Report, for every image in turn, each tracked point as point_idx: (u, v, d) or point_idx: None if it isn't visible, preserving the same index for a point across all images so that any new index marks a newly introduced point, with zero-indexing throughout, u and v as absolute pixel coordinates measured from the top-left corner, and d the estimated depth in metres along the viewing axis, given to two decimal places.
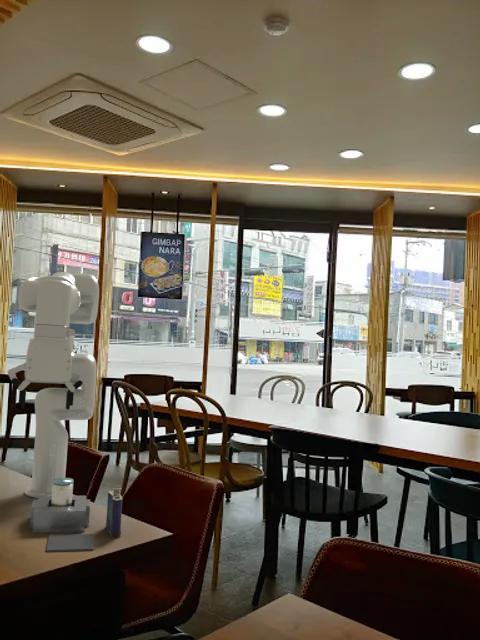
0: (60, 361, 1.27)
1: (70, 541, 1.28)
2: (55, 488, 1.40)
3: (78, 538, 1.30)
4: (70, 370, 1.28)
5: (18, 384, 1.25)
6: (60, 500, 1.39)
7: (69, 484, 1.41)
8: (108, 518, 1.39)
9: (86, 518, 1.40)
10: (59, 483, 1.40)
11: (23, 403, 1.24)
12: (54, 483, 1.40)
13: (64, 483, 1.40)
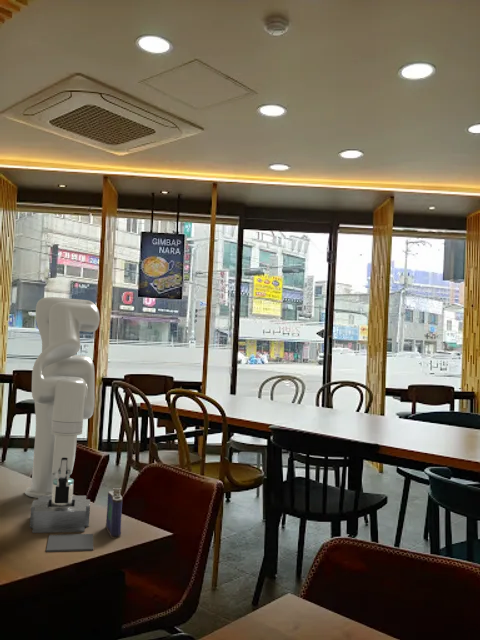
0: None
1: (70, 541, 1.28)
2: (55, 488, 1.40)
3: (78, 538, 1.30)
4: None
5: (65, 484, 1.38)
6: None
7: (69, 484, 1.41)
8: (108, 518, 1.39)
9: (86, 518, 1.40)
10: None
11: None
12: (54, 483, 1.40)
13: None
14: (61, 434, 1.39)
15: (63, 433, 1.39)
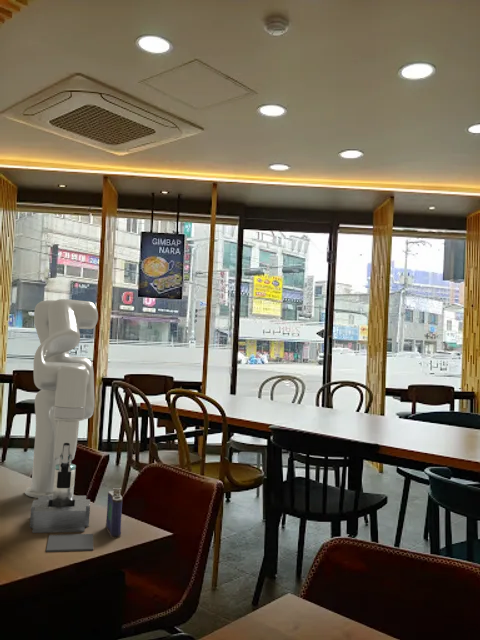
0: None
1: (70, 541, 1.28)
2: (57, 473, 1.41)
3: (78, 538, 1.30)
4: None
5: (67, 469, 1.39)
6: None
7: (71, 469, 1.41)
8: (108, 518, 1.39)
9: (86, 518, 1.40)
10: None
11: None
12: (56, 468, 1.41)
13: None
14: (63, 420, 1.40)
15: (65, 419, 1.40)
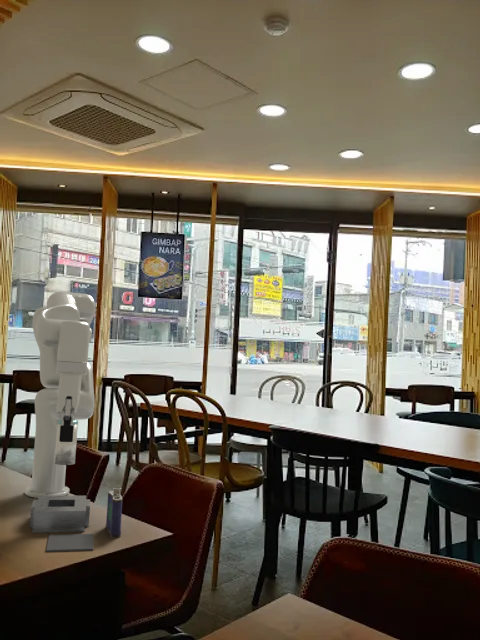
0: None
1: (70, 541, 1.28)
2: None
3: (78, 538, 1.30)
4: None
5: (70, 422, 1.39)
6: None
7: (74, 424, 1.42)
8: (108, 518, 1.39)
9: (86, 518, 1.40)
10: None
11: None
12: (59, 422, 1.41)
13: None
14: (66, 373, 1.40)
15: (68, 372, 1.40)
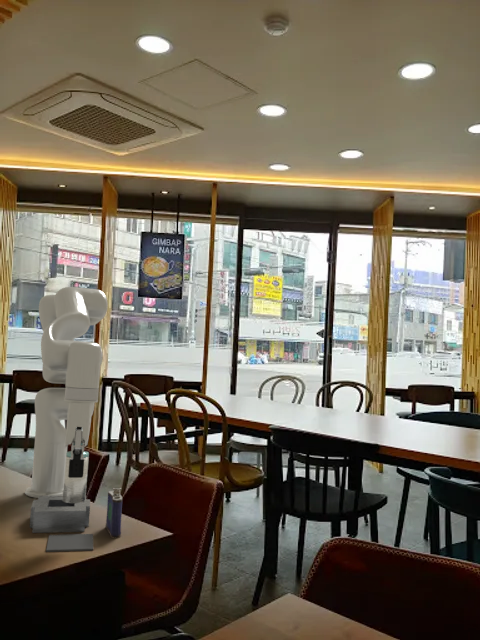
0: None
1: (70, 541, 1.28)
2: None
3: (78, 538, 1.30)
4: None
5: (80, 456, 1.25)
6: None
7: (84, 457, 1.28)
8: (108, 518, 1.39)
9: (86, 518, 1.40)
10: None
11: None
12: (68, 455, 1.27)
13: None
14: (75, 401, 1.26)
15: (77, 400, 1.26)
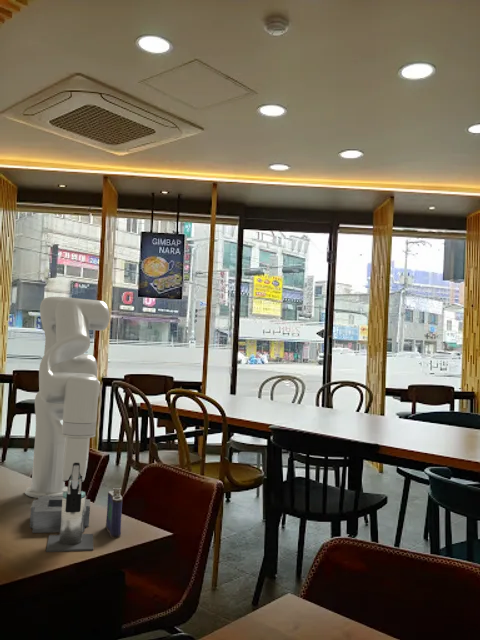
0: None
1: None
2: (65, 502, 1.27)
3: None
4: None
5: (78, 489, 1.23)
6: (71, 515, 1.26)
7: (81, 497, 1.27)
8: (108, 518, 1.39)
9: (86, 518, 1.40)
10: None
11: None
12: (64, 496, 1.27)
13: None
14: (73, 437, 1.25)
15: (75, 435, 1.26)
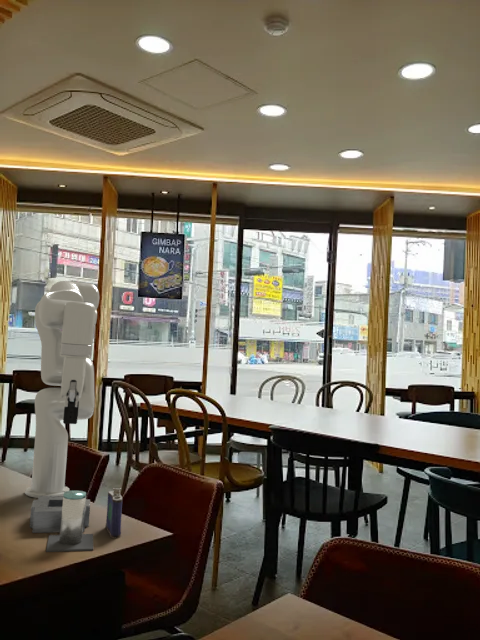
0: None
1: None
2: (66, 502, 1.27)
3: None
4: None
5: (75, 402, 1.33)
6: (71, 515, 1.26)
7: (81, 498, 1.27)
8: (108, 518, 1.39)
9: (86, 518, 1.40)
10: (70, 497, 1.26)
11: None
12: (65, 496, 1.27)
13: (76, 497, 1.27)
14: (70, 356, 1.35)
15: (72, 355, 1.35)
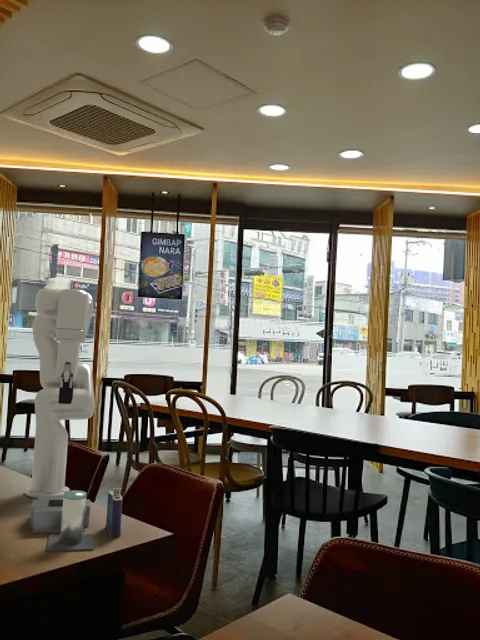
0: None
1: None
2: (66, 502, 1.27)
3: None
4: None
5: (69, 383, 1.40)
6: (71, 515, 1.26)
7: (81, 498, 1.27)
8: (108, 518, 1.39)
9: (86, 518, 1.40)
10: (70, 497, 1.26)
11: None
12: (65, 496, 1.27)
13: (76, 497, 1.26)
14: (65, 340, 1.43)
15: (67, 339, 1.43)
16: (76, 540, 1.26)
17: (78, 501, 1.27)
